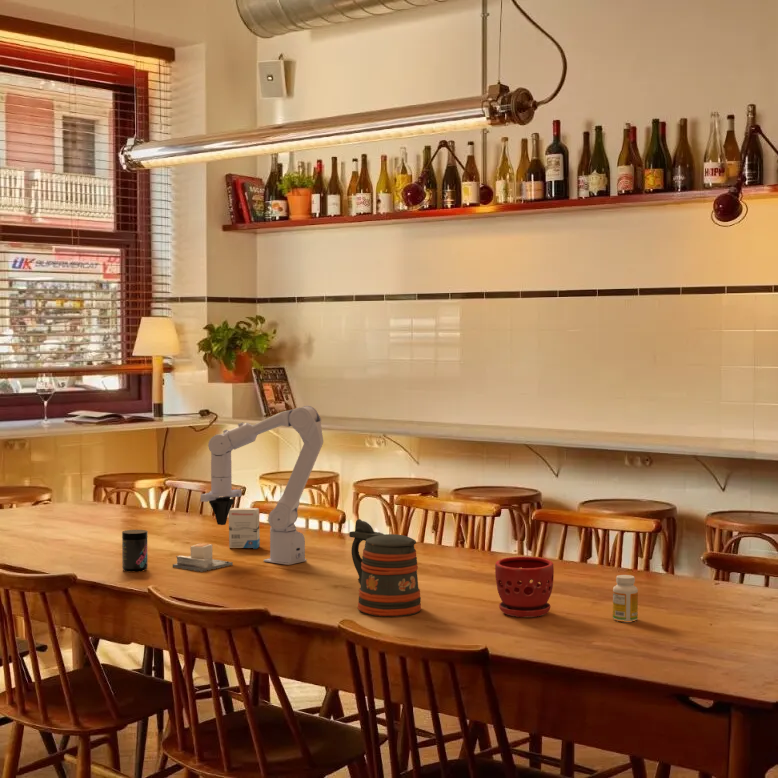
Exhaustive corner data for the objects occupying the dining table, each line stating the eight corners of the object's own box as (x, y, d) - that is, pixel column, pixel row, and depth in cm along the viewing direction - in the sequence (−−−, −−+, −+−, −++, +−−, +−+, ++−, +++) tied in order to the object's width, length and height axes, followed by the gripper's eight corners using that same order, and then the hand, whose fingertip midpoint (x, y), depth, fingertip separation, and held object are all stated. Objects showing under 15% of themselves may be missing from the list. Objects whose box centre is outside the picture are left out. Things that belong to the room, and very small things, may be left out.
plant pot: (490, 607, 273) (491, 556, 272) (546, 607, 273) (547, 555, 273) (500, 621, 260) (500, 567, 259) (558, 620, 260) (559, 566, 260)
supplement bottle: (634, 617, 263) (634, 574, 263) (640, 622, 258) (640, 578, 258) (610, 617, 263) (610, 574, 263) (615, 622, 258) (616, 578, 258)
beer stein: (329, 609, 271) (329, 522, 270) (368, 598, 283) (368, 515, 282) (395, 620, 260) (395, 530, 259) (433, 608, 272) (433, 522, 271)
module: (212, 562, 324) (212, 543, 324) (203, 565, 319) (203, 546, 319) (199, 561, 325) (199, 543, 325) (190, 564, 320) (190, 545, 320)
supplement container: (133, 573, 312) (132, 534, 312) (116, 570, 317) (116, 531, 316) (153, 569, 318) (152, 531, 317) (136, 566, 322) (136, 528, 322)
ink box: (260, 546, 354) (260, 507, 354) (256, 549, 349) (256, 509, 349) (232, 546, 355) (232, 507, 354) (228, 548, 350) (228, 509, 350)
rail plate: (232, 565, 324) (232, 554, 324) (201, 571, 314) (201, 561, 314) (203, 560, 331) (203, 550, 330) (172, 567, 321) (172, 556, 321)
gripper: (228, 473, 340) (229, 520, 341) (192, 477, 328) (192, 526, 329) (246, 474, 336) (247, 522, 336) (210, 479, 324) (211, 528, 325)
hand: (221, 524), depth 332 cm, fingers closed
